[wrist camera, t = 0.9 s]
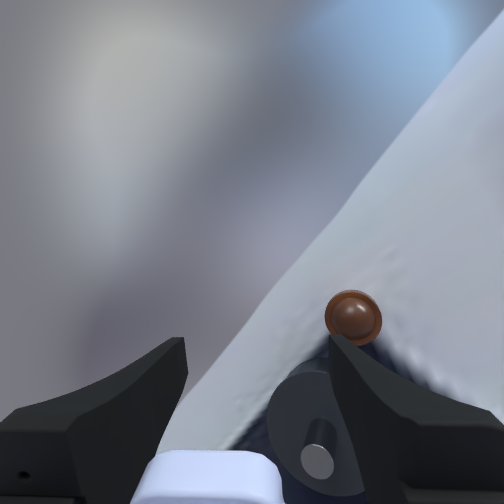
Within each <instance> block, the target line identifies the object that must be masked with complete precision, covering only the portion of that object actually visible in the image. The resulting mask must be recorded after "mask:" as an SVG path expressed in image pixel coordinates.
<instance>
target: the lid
mask: <svg viewBox="0 0 504 504" xmlns="http://www.w3.org/2000/svg"><path fill="white" fill-rule="evenodd" d="M267 431H268V435H269V439H270V442H271V445H272V447H273V449H274V452H275V454H276V455H277V457H278V459H279V460H280V462H281V463H282V464H283V466H284V467H285V468H286V469H287V470H288V472H289V473H290V474H291V475H292V476H294V477H295V478H296V479H297V480H298V481H300V482H301V483H302V484H304V485H305V486H307V487H309V488H311V489H313V490H315V491H317V492H320V493H323V494H326V495H331V496H341V497H345V496H353V495H356V494H360V493H362V492H364V491H365V489H364V485H363V481H362V478H361V474H360V470H359V466H358V462H357V459H356V455H355V451H354V448H353V444H352V441H351V438H350V436H349V433H348V430H347V427H346V425H345V422H344V419H343V417H342V414H341V411H340V409H339V406H338V403H337V401H336V398H335V395H334V392H333V388H332V384H331V380H330V375H329V371H324V370H305V371H301V372H297V373H295V374H293V375H291V376H289V377H288V378H286V379H285V380H284V381H283V382H281V383H280V385H279V386H278V387H277V388H276V390H275V391H274V393H273V395H272V396H271V399H270V401H269V405H268V409H267Z"/></svg>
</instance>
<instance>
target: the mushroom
mask: <svg viewBox="0 0 504 504" xmlns="http://www.w3.org/2000/svg"><path fill="white" fill-rule="evenodd" d="M325 323H326V326H327V328H328V330H329V332H330V333H331V334H332V335H343V336H344V337H346V338H347V339H348V340H349V341H351V342H352V343H353V344H354V345H355V346H361V345H365V344H367V343H370V342H371V341H373V340H374V339H375V338H376V337H377V335H378V334H379V332H380V330H381V326H382V316H381V312H380V310H379V308H378V306H377V304H376V302H375V301H374V300H373V299H372V298H371V297H370V296H369V295H367V294H366V293H364V292H361V291H358V290H345V291H342V292H340V293H338V294H336V295H335V296H334V297H333V298H332V299H331V300H330V302H329V303H328V305H327V307H326V310H325Z"/></svg>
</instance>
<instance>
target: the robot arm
mask: <svg viewBox="0 0 504 504" xmlns="http://www.w3.org/2000/svg"><path fill="white" fill-rule="evenodd" d="M187 375H188V367H187V360H186V352H185V343H184V337H179V338H178V337H172V338H170V339H168V340H167V341H165V342H164V343H162V344H161V345H159V346H158V347H156V348H155V349H153V350H152V351H150V352H149V353H147V354H146V355H144V356H143V357H141V358H140V359H138V360H136V361H135V362H133V363H131V364H130V365H128V366H127V367H125V368H123V369H121V370H120V371H118V372H116V373H114V374H112V375H110V376H108V377H106V378H104V379H102V380H100V381H98V382H95V383H93V384H91V385H88V386H86V387H84V388H81V389H79V390H76V391H74V392H71V393H69V394H66V395H63V396H60V397H57V398H54V399H51V400H47V401H44V402H41V403H37V404H33V405H29V406H26V407H22V408H18V409H16V410H14V411H13V412H12V413H11V414H10V415H8V416H7V417H6V418H5V419H4V420H3V421H2V422H0V504H285V503H284V500H283V496H282V479H281V476H280V474H279V471H278V469H277V466H276V465H275V464H274V463H272V462H271V461H270V460H269V459H267V458H266V457H265V456H264V455H262V454H258V453H254V452H249V451H222V450H172V451H167V452H163V453H158V454H157V455H156V456H155V454H156V451H157V448H158V446H159V443H160V441H161V438H162V436H163V434H164V431H165V429H166V427H167V425H168V423H169V421H170V418H171V416H172V414H173V412H174V410H175V408H176V405H177V403H178V401H179V399H180V397H181V394H182V392H183V389H184V386H185V382H186V379H187ZM329 375H330V380H331V384H332V388H333V392H334V395H335V398H336V401H337V403H338V406H339V409H340V411H341V414H342V417H343V419H344V422H345V425H346V427H347V430H348V433H349V436H350V438H351V441H352V444H353V448H354V451H355V455H356V459H357V462H358V466H359V470H360V474H361V478H362V481H363V485H364V489H365V493H366V497H367V501H368V504H504V425H503V424H502V423H501V422H500V421H499V420H498V419H497V418H496V417H495V416H494V415H493V414H492V413H491V412H490V411H488V410H484V409H481V408H478V407H475V406H471V405H468V404H465V403H462V402H458V401H455V400H453V399H450V398H447V397H445V396H442V395H439V394H437V393H434V392H432V391H430V390H427V389H425V388H423V387H421V386H419V385H417V384H414V383H412V382H410V381H408V380H406V379H404V378H403V377H401V376H399V375H397V374H396V373H394V372H392V371H390V370H389V369H387V368H386V367H384V366H383V365H381V364H380V363H378V362H377V361H375V360H374V359H372V358H371V357H370V356H368V355H367V354H366V353H364V352H363V351H362V350H360V349H359V348H358V347H357V346H355V345H354V344H353V343H352V342H351V341H349V340H348V339H347V338H346V337H344V336H343V335H329Z"/></svg>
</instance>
